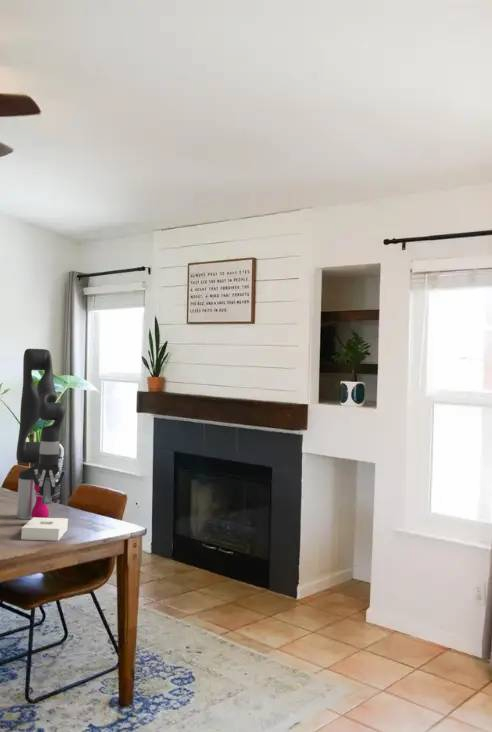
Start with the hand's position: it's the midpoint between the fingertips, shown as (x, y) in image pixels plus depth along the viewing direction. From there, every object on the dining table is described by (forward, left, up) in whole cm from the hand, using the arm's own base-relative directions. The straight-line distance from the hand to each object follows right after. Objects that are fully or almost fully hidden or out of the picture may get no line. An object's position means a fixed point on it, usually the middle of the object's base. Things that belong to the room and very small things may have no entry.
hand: (47, 495), depth 285 cm
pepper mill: (-18, -6, -16) cm, 25 cm away
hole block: (0, 0, -15) cm, 15 cm away
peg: (0, 0, -3) cm, 3 cm away
